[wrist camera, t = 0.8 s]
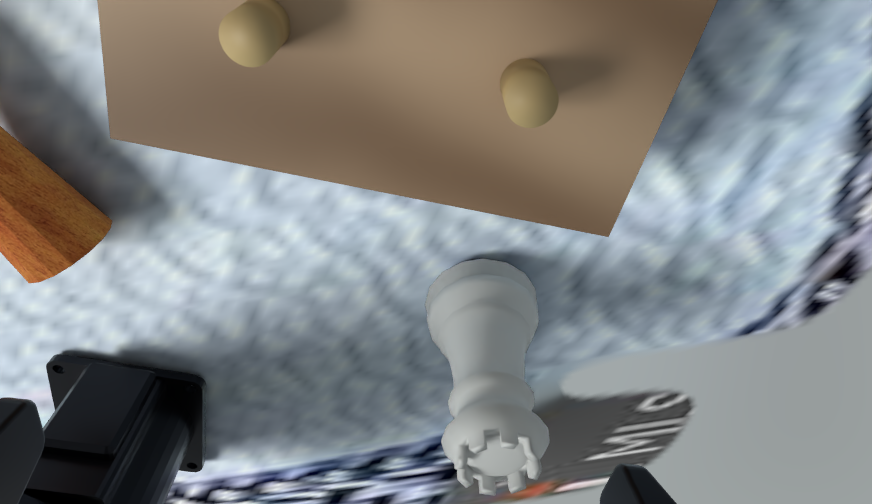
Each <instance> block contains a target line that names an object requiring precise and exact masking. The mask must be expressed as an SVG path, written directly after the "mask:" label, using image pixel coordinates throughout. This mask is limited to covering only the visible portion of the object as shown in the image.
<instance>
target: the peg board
mask: <svg viewBox="0 0 872 504" xmlns="http://www.w3.org/2000/svg"><path fill="white" fill-rule="evenodd" d="M717 1H718V0H98V11H99V22H100V32H101V43H102V54H103V64H104V75H105V86H106V96H107V107H108V118H109V128H110V138H112V139H117V140H122V141H127V142H132V143H137V144H142V145H147V146H152V147H157V148H162V149H167V150H172V151H177V152H182V153H187V154H192V155H197V156H202V157H207V158H213V159H218V160H223V161H228V162H233V163H238V164H243V165H248V166H253V167H258V168H263V169H268V170H273V171H278V172H283V173H288V174H293V175H298V176H303V177H308V178H314V179H319V180H324V181H329V182H334V183H339V184H344V185H349V186H354V187H359V188H364V189H369V190H374V191H379V192H384V193H389V194H394V195H399V196H404V197H409V198H414V199H420V200H425V201H430V202H435V203H440V204H445V205H450V206H455V207H460V208H465V209H470V210H475V211H480V212H485V213H490V214H495V215H500V216H505V217H510V218H515V219H520V220H526V221H531V222H536V223H541V224H546V225H551V226H556V227H561V228H566V229H571V230H576V231H581V232H586V233H591V234H596V235H601V236H606V237H609V235H610V233H611V231H612V228H613V226H614V224H615V222H616V220H617V218H618V215H619V213H620V211H621V209H622V207H623V205H624V202H625V200H626V198H627V196H628V194H629V192H630V189H631V187H632V185H633V183H634V181H635V179H636V176H637V174H638V172H639V170H640V168H641V166H642V163H643V161H644V159H645V157H646V155H647V153H648V150H649V148H650V146H651V144H652V142H653V140H654V137H655V135H656V133H657V131H658V129H659V127H660V124H661V122H662V120H663V118H664V116H665V114H666V111H667V109H668V107H669V105H670V103H671V101H672V98H673V96H674V94H675V92H676V90H677V88H678V85H679V83H680V81H681V79H682V77H683V75H684V72H685V70H686V68H687V66H688V64H689V62H690V59H691V57H692V55H693V53H694V51H695V49H696V46H697V44H698V42H699V40H700V38H701V36H702V33H703V31H704V29H705V27H706V25H707V23H708V20H709V18H710V16H711V14H712V12H713V10H714V7H715V5H716V3H717Z"/></svg>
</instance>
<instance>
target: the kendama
mask: <svg viewBox="0 0 872 504" xmlns="http://www.w3.org/2000/svg"><path fill="white" fill-rule="evenodd" d="M111 224H112V220H111V219H110V218H109V217H107V216H106V215H105V214H104V213H103V212H101V211H100V210H99V209H98V208H97V207H95V206H94V205H93V204H92V203H91V202H90V201H88V200H87V199H86V198H85V197H84V196H82V195H81V194H80V193H79V192H78V191H76V190H75V189H74V188H73V187H72V186H71V185H69V184H68V183H67V182H66V181H65V180H63V179H62V178H61V177H60V176H59V175H57V174H56V173H55V172H54V171H53V170H52V169H50V168H49V167H48V166H47V165H46V164H44V163H43V162H42V161H41V160H40V159H39V158H37V157H36V156H35V155H34V154H33V153H31V152H30V151H29V150H28V149H27V148H25V147H24V146H23V145H22V144H21V143H20V142H18V141H17V140H16V139H15V138H14V137H12V136H11V135H10V134H9V133H8V132H6V131H5V130H4V129H3V128H2V127H1V126H0V252H1V253H2V254H3V255H4V256H5V257H6V259H7V260H8V261H9V262H10V263H11V264H12V265H13V266H14V267H15V268H16V269H17V271H18V272H19V273H20V274H21V275H22V276H23V277H24V278H25V279H26V280H27V281H28V283H36V282H41V281H43V280H46V279H48V278H50V277H53V276H55V275H57V274H58V273H60V272H62V271H63V270H65V269H67V268H68V267H70V266H72V265H73V264H74V263H76V262H77V261H78V260H80V259H81V258H82V257H84V256H85V255H86V254H87V253H89V252H90V251H91V250H92V249H93V248H94V247H95V246H96V245H97V244H98V243H99V242H100V241H101V240H102V239H103V238H104V237H105V235H106V234H107V233H108V231H109V230H110V228H111Z"/></svg>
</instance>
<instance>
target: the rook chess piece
mask: <svg viewBox="0 0 872 504" xmlns="http://www.w3.org/2000/svg"><path fill="white" fill-rule="evenodd" d="M425 307H426V311H427V323H428V327H429V331H430V335H431V338H432V340H433V342H434V343H435V344H436V345H437V346H438V347H439V349H440V350H441V352H442V354H443V355H444V356H445V357H446V358H447V359H448V360H449V362H450V366H451V371H452V376H453V385H454V389H453V390H452V391H451V394H450V397H449V400H448V406H449V410H450V413H451V415H452V416H453V417H454V419H453V420H452V421H451V422H450V423H449V424H448V425H447V427H446V428H445V431H444V434H443V437H442V440H441V442H442V446H443V449H444V453H445V455H446V456H447V457H448V458H449V459H450V460H451V461H452V462H453V463H454V465H455V469H457V479H458V480H459V481H460V482H461V483H462V484H463V485H464V486H465V487H466V488H467V487H469V486H470V485H472V484H473V478H475V479H477V480H479V494H487V495H495V494H496V484H495V482H499V481H508V486H509V490H510V492H511V493H515V492H518V491H520V490H523V489H526V483H525V476H524V475H525V474H526V473H528V478H532V479H535V480H537V479H538V477H539V475H540V473H541V471H542V466H541V460H540V459H541V457H542V456H543V455H544V453H545V450H546V448H547V446H548V444H549V442H550V440H549V431H548V427H547V426H546V425H545V424H544V422H543V421H542V420H541V419H540V418H539V416H538V415H536V414H535V413H533V412H532V409H533V407H534V405H535V399H534V392H533V390H532V389H531V388H530V387H529V385H528V384H527V383H526V382H525V353H526V352H527V350H528V347H529V345H530V343H531V342H532V339H533V337H534V334H535V332H536V329H537V327H538V322H539V317H538V308H537V298H536V289H535V287H534V286H533V284H532V283H531V281H530V280H529V279H528V277H527V276H526V274H525V273H524V272H522V271H520V270H519V269H517V268H515V267H514V266H512V265H510V264H508V263H506V262H501V261H495V260H490V259H477V260H471V261H464V262H461V263H459V264H457V265H455V266H453V267H451V268H449V269H448V270H446V271H444V272H442V273H441V274H440V275H439V277H438V278H437V279H436V280H435V281H434V283H433V284H432V285H431V286H430V287H429V291H428V295H427V298H426V302H425Z"/></svg>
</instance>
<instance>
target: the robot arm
mask: <svg viewBox="0 0 872 504" xmlns="http://www.w3.org/2000/svg"><path fill="white" fill-rule="evenodd" d="M46 368H47V373H48V378H49V383H50V388H51V393H52V397H53V402H54V407H55V412H54V413H53V415H52V416H51V418H50V419H49V420H48V422H47V423H46V425H45V426H44V427H43V428H42V424H41V421H40V417H39V414H38V410H37V407H36V404H35V403H34V402H33V401H31V400H27V399H18V398H1V399H0V504H164V503H165V500H166V498H167V496H168V493H169V491H170V489H171V486H172V484H173V482H174V479H175V477H176V475H177V472H178V470H181V471H188V472H198V471H200V470H202V467H203V465H204V462H205V392H206V384H205V381H204V380H203V379H202V378H201V377H199V376H197V375H193V374H187V373H180V372H174V371H167V370H160V369H154V368H147V367H141V366H134V365H128V364H121V363H115V362H108V361H101V360H95V359H88V358H82V357H75V356H69V355H61V354H57V355H54V356H53V357H52V358H51V360H50V361H49V362H48V363H47V366H46ZM191 385H192V386H191ZM600 504H676V502H675V501H674V500H673V499H672V498H671V497H670V496H669V494H668V493H667V492H666V491H665V490H664V489H663V487H662V486H661V485H660V484H659V483H658V482H657V480H656V479H655V478H654V477H653V476H652V475H651V474H650V473H649V472H648V470H647V469H645V468H644V467H642V466H639V465H631V464H619V465H617V466H616V467H615V469H614V471H613V473H612V474H611V476H610V478H609V480H608V482H607V484H606V485H605V487H604V489H603V491H602V494H601V497H600Z"/></svg>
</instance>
